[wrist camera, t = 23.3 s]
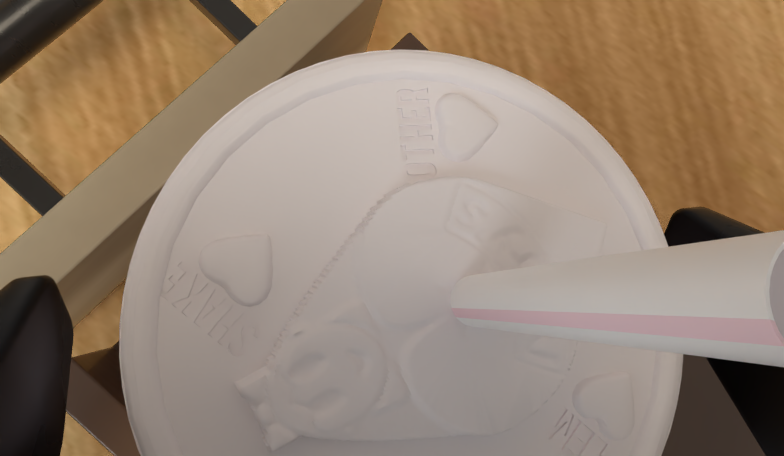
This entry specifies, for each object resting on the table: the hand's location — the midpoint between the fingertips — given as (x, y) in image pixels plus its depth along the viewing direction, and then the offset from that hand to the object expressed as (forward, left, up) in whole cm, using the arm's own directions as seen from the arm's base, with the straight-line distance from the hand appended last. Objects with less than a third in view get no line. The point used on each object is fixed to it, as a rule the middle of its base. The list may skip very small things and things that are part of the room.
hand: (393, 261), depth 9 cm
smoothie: (-1, -1, -8) cm, 8 cm away
